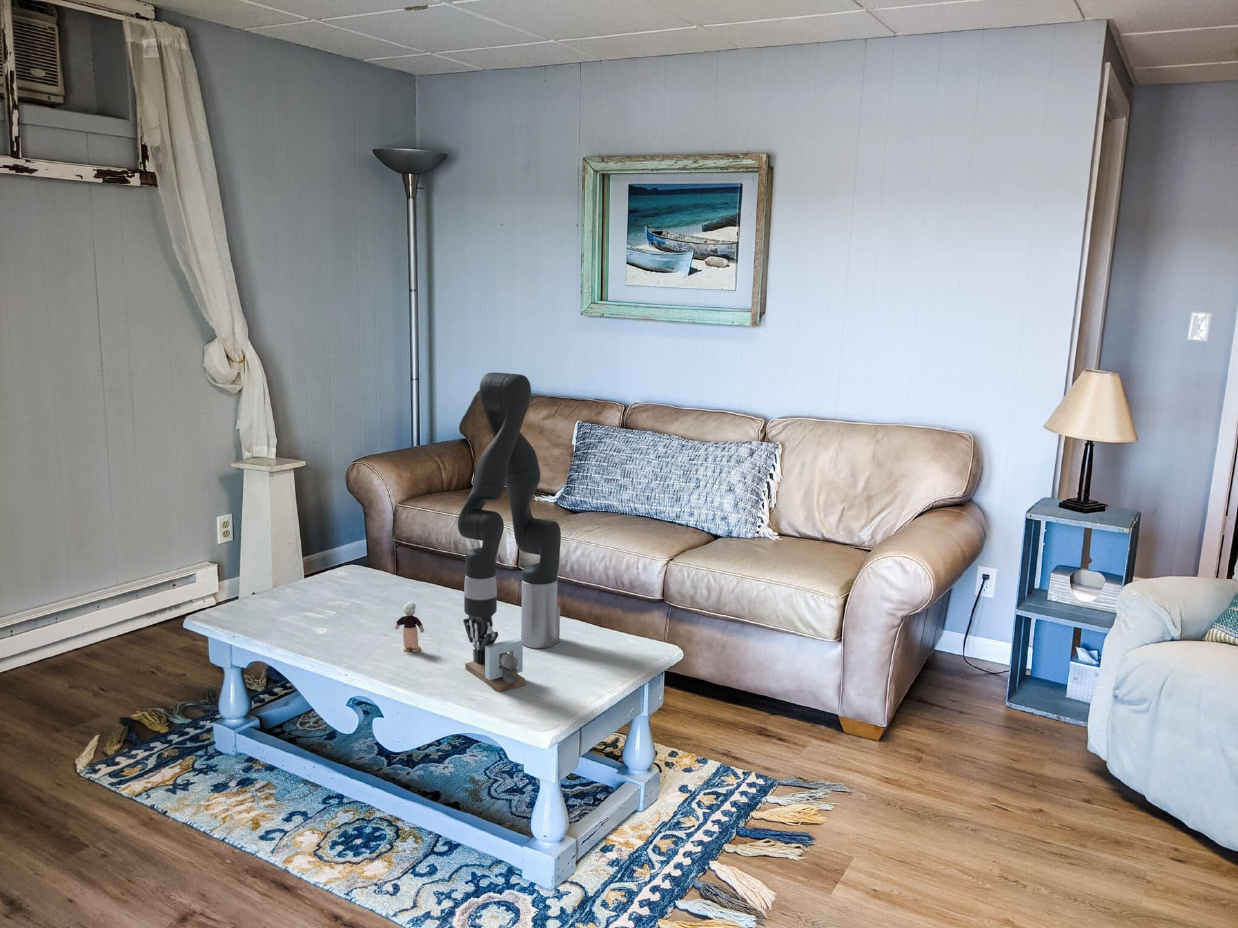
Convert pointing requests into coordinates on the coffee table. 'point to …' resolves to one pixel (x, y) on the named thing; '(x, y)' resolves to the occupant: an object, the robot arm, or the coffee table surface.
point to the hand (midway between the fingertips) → (480, 662)
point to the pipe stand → (509, 673)
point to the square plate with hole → (498, 648)
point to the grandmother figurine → (410, 628)
